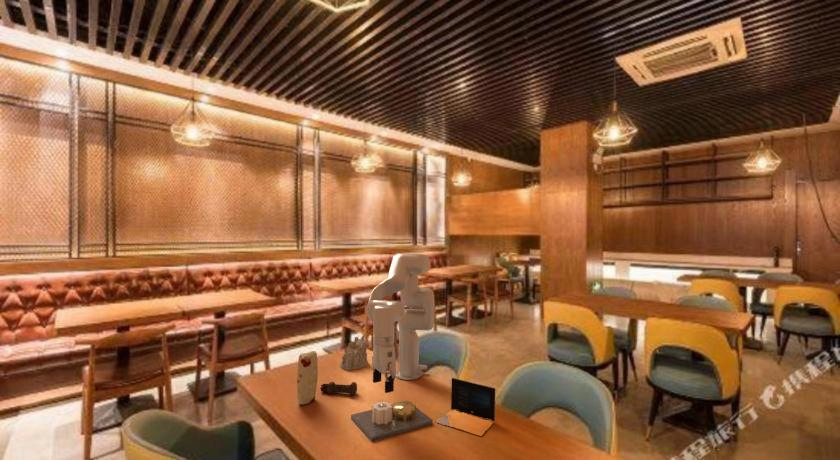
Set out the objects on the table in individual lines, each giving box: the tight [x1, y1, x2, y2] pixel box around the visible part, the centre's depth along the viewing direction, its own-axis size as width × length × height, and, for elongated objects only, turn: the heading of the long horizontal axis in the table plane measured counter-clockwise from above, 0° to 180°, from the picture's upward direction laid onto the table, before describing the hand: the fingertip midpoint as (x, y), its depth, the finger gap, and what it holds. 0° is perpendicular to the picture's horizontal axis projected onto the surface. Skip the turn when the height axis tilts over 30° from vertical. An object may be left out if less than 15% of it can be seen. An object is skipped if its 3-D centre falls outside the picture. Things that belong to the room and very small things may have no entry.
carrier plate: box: [350, 400, 433, 443], centre depth 143 cm, size 24×18×7 cm
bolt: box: [320, 381, 358, 397], centre depth 167 cm, size 6×5×15 cm
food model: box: [296, 350, 319, 405], centre depth 158 cm, size 10×7×20 cm
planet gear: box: [371, 401, 393, 425], centre depth 142 cm, size 7×7×5 cm
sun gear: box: [392, 400, 417, 420], centre depth 146 cm, size 9×9×3 cm
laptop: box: [435, 377, 496, 428], centre depth 144 cm, size 18×12×13 cm
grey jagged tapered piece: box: [339, 335, 369, 371], centre depth 203 cm, size 16×16×15 cm
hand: (383, 386), depth 142 cm, fingers open, 9 cm apart
